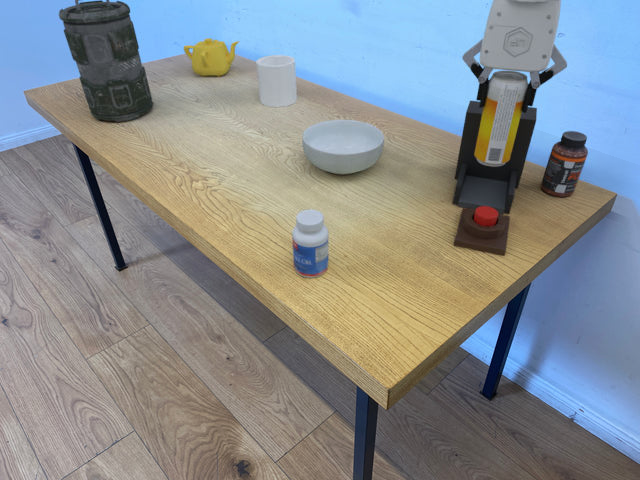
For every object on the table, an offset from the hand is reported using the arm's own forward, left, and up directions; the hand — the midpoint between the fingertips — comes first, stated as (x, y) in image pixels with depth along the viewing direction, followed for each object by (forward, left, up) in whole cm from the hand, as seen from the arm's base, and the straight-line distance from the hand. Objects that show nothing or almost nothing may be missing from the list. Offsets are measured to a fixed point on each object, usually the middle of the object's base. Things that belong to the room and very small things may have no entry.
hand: (503, 106), depth 78 cm
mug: (+58, -34, -18) cm, 70 cm away
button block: (-1, +12, -18) cm, 21 cm away
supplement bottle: (-13, -7, -18) cm, 23 cm away
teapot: (+87, -48, -18) cm, 101 cm away
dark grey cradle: (0, -3, -18) cm, 18 cm away
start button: (-1, +12, -15) cm, 19 cm away
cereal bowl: (+29, -3, -18) cm, 34 cm away
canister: (+94, -13, -18) cm, 97 cm away
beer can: (0, 0, -10) cm, 10 cm away
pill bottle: (+23, +30, -18) cm, 42 cm away
